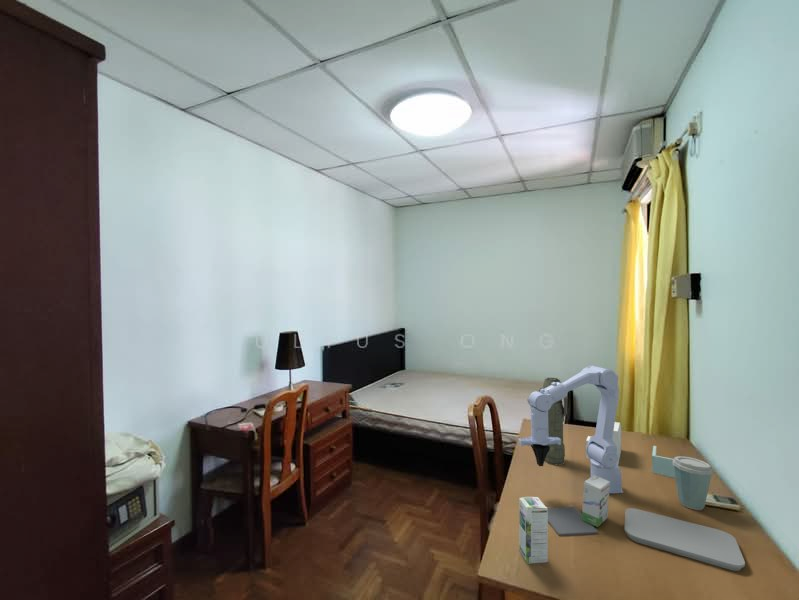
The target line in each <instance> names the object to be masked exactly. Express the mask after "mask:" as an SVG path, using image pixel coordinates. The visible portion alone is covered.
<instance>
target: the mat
mask: <svg viewBox="0 0 799 600" xmlns="http://www.w3.org/2000/svg"><path fill="white" fill-rule="evenodd" d="M547 508H548V524H549V525H550V527H551V528H552V530H554V532H555V533H556V535H558V536H559V537H563V536H564V537H565V536H579V535H581V536H584V535H597V534H598V535H599V531H598V529H597V528H595V527H594V525H592V524H590V523H588V522H586V521H583V520H582V512H580V511H579V510H578V509H577V508H576V507H575V506H563V507H562V506H561V507H547Z"/></svg>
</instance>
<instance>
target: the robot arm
mask: <svg viewBox="0 0 799 600" xmlns="http://www.w3.org/2000/svg"><path fill="white" fill-rule="evenodd" d="M551 384H552V385H550V386H548V387H546V388H544V389H539V390H540V391H539V390H538V391H537V390H536V391H533V392H531V393H530V394H529V396H528V398H527V404H528V405H529V406H530V436H528V437H522V438H518V444H519V446H521V447H524V446H530V447H531V449H532V451H533V453H534V457H535V461H536V464H537V466H539V467H544V464H545V458H546V455H547V453H548V452H549V450H550V447H549V446H548V444H558V445H561V439H560V438H558V437H548V410H549V409H550V408H551V406H552V404H553V403H555V402H557V401H559V400H561V399H562V400H564V398H565V397H566V396H567V395H568V393H569V392H570V391H573V390H575V389H578V388H579V387H582V386H584V385H587V384H590V385H594V386H595V387H596V388H597V389H598V391H599V392H600V401H599V405H598V413H597V418H596V419H597V420H596V427H595V433H594V435H592V436H591V437H590V440H589V443H588V444H587V446H586V445H585V447H586V448H585V454H586V453H587V455H588V456H589V457H590V459H589V460H590V478H591V477H592V476H594V475H595V476H598V477H600V478H603V479H605V480H607V481H610V488H609V495H610V494H623V493H624V491H623V489H622V485H623V483H622V482H623V481H622V475H623V474H622V471H621V468H620V466H619V464H618V465H617V462H618V455H617V447H616V445H615V443H614V442H613V440H612V437H613V430H614V424H615V422H616V417H617V416H616V415H617V411H618V410H617V409H618V403H619V395H620V388H619V375H618V374H616V372H615V371H614V370H612V369H610V368H603V367H600V366H596V365H592V364H591V365H588V366H587V367H584V368H582V369H581V371H580V372H578V373H577V374H575V375H573V376H572V377H569V378H568V379H567V380H565V381H563V382H561V383H559V382H556V383H555V382H553V383H551Z"/></svg>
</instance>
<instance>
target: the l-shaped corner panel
mask: <svg viewBox="0 0 799 600" xmlns="http://www.w3.org/2000/svg"><path fill="white" fill-rule="evenodd" d="M673 459H674V458H671V457H666V456H660V455H657V445H653V446H652V454H651V463H652V464H651V469H652V474H654V473H657V474H656V475H659V474H660V476H663V475H665V477H668V478H673V479H675V472H674V466H673V463H672V461H673Z"/></svg>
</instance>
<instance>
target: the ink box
mask: <svg viewBox="0 0 799 600" xmlns="http://www.w3.org/2000/svg"><path fill="white" fill-rule="evenodd" d="M609 488H610V481H607V480H605V479H603V478H600V477H598V476H595V475H594V476H592V477H591V476H590V477H589V478H588V479H586V480H585V481H584V482H583V493H582V494H583V495H582V512H581V514H582V520H583V521H586V522H588V523H590V524H591V525H592V526H593V527H594V526H595V527H596V528H598V527H599V526H601V524H603V523H604V522H605V521H606V520H607V519H608V517H609V499H610V498H609V497H610V494H609Z"/></svg>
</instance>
